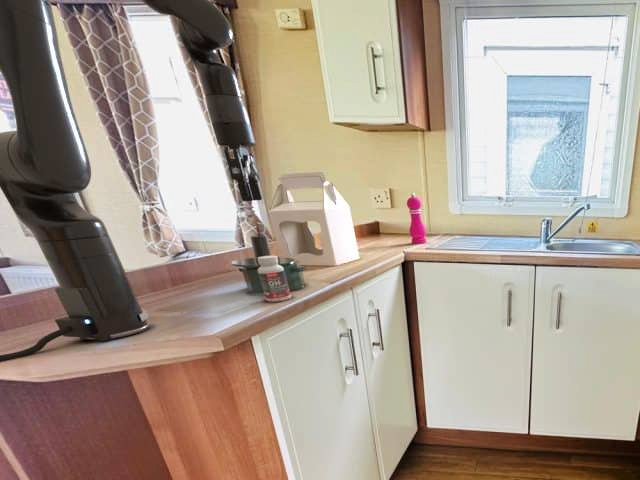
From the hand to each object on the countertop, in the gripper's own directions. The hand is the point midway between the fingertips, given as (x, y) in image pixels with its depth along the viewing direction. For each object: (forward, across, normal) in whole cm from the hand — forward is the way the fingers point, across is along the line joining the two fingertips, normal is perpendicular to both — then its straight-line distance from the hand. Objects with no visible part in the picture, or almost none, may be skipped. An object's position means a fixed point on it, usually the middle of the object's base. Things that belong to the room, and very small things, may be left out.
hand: (252, 200), depth 101 cm
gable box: (+21, -42, +6) cm, 47 cm away
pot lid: (+14, 0, -1) cm, 15 cm away
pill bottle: (+22, +13, +3) cm, 25 cm away
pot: (+21, 0, 0) cm, 21 cm away
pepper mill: (+21, -75, +43) cm, 89 cm away
